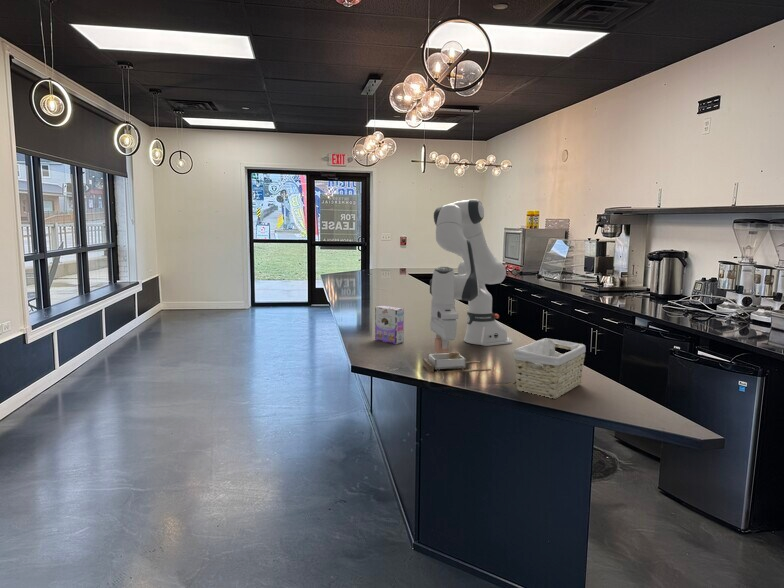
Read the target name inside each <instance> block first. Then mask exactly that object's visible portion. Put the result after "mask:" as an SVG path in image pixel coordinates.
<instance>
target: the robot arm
mask: <svg viewBox="0 0 784 588" xmlns="http://www.w3.org/2000/svg"><path fill="white" fill-rule="evenodd" d="M484 217H485V209H484V205H483V203H482V202H481V201H480V200H479V199H477V198H470V199H466V200H459V201H455V202H452V203H448V204H445V205H441V206H440V205H439V207H437V208H436V209H435V210H434V213H433V222H434V225H435V226H436V227H435V241H436V242H437V243H436V244H438V245H439V247H440V248H442V249H443V250H445V251H446V252H449V253H452V254H455V255H457V256H459V257H460V258H461V259H462V260H461V261H460V263H459V264H458V267H457V274H455V269H453V268H452V267H448V266H440V267H439V266H438V267H435V268H434V269H433V273H432V278H431V279H430V280H429V294H430V295H431V296H432V297H431V301H430V322H429V323H430V327H429V328H430V331H432V332H434V333H435V338H442V344H441V348H442V349H447V344H448V341H449V342H450V341H454V340H456V337H457V329H458V328H457V326H458V325H457V323H458V321H457V320H458V319H459V313H458V311H457V310H456V303H455V300H456V301H457V300H459V301H460V300H461V301H466V302H468V305H467V306H468V307H467V308H468V309H467V312H466V324H467V325H466V331H465V335H464V339H463V341H464V342H466V343H467V344H472V345H480V346H483V347H484V346H485V347H487V346H490V347H491V346H496V345H505V344H506V345H507V344H512V343H513V340H512V339H511V338H510V337H508V332H507V329H506V328H505V327H504V326H503V325H502V324H500V323H499V322H498V321H497V320H496V319H499V318H500V315H499V314H498V313H494V312H493V296H492V294H491V293H490V292H489V291H488V289H487V287H486V285H496V284H501V283H502V282H503V281H504V280H505V279H506V275H507V270H506V266H505V265H504V264H503V263H502V262H500V261H499V260H498V259H497V258H496V257H495V256H494V254H493V253H492V252H491V250H490V248H489V246H488V244H487V241H486V238H485V234H484V231H483V226H482V225H481V224H482V223H481V222H482V221H483V219H484Z"/></svg>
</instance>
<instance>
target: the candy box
mask: <svg viewBox="0 0 784 588" xmlns="http://www.w3.org/2000/svg"><path fill="white" fill-rule="evenodd" d="M374 309H375V310H374V318H375V319H374V323H375V324H374V327H375V328H374V329H375V330H374V333H375V335H374V337H375V340H374V341H377V340H378V342H382V341H383V342H382V343H386V342H388V344H391V343H392V345H399V343H400V344H403V343H404V338H405V337H404V336H405V334H404V331H405V330H404V329H405V327H404V326H405V308H401V307H394V306H388V305H378V306H375V307H374Z"/></svg>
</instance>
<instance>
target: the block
mask: <svg viewBox="0 0 784 588" xmlns="http://www.w3.org/2000/svg"><path fill="white" fill-rule="evenodd" d="M449 342H450V340H449V341H448V344H447V349H442V348H441V344H442V338H436V337H435V338H434V352H435V353H436V354H443V353H449Z"/></svg>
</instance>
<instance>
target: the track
mask: <svg viewBox="0 0 784 588" xmlns="http://www.w3.org/2000/svg"><path fill="white" fill-rule="evenodd" d="M478 363H479V364H480V363H481V361H479V360H476V361H475V360H473V361H466V365H467V364H478ZM422 366H423V367H424V368H425V369H426V371H428V372H429V373H430V374H449V373H453V374H454V373H467V372H468V373H469V372H470V373H471V372H482V371H485V372H486V371H492V369H491V368H478V369H477V368H476V369H462V370H459V369H458V370H445V371H444V370H440V371H439V372H438V371H434V370H435V369H434V365H433V364H431V363H430V362H429V361H428V358H423V359H422Z"/></svg>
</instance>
